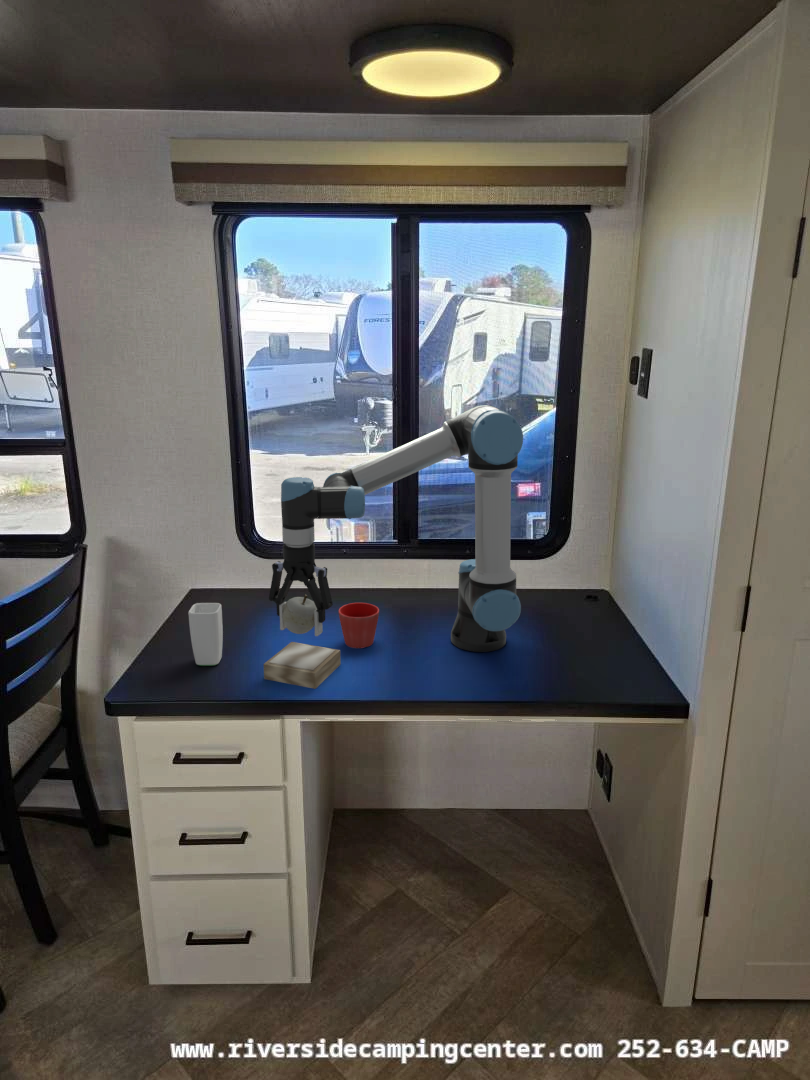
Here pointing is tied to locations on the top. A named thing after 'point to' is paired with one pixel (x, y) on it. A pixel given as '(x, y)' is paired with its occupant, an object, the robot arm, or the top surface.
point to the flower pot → (358, 624)
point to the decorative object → (299, 615)
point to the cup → (206, 633)
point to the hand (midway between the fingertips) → (301, 630)
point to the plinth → (302, 665)
